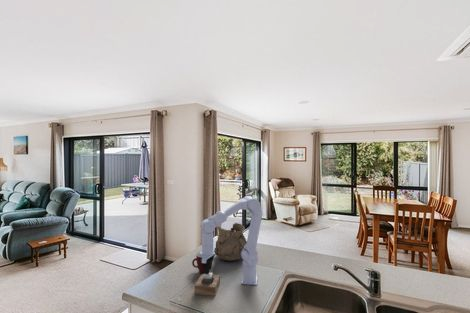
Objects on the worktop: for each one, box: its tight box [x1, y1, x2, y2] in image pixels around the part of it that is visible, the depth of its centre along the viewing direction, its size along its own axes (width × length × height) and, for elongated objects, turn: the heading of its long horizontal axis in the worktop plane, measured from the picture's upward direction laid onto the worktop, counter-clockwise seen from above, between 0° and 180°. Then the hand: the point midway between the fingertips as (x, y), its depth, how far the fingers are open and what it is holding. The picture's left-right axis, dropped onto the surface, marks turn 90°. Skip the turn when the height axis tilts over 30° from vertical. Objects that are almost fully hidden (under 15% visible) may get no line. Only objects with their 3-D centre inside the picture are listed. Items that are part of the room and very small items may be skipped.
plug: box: [203, 272, 214, 284], centre depth 116 cm, size 4×4×7 cm
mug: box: [191, 252, 204, 275], centre depth 133 cm, size 10×8×10 cm
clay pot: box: [213, 222, 247, 262], centre depth 153 cm, size 25×24×22 cm
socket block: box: [194, 273, 221, 297], centre depth 116 cm, size 11×10×4 cm
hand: (207, 271), depth 116 cm, fingers open, 4 cm apart
